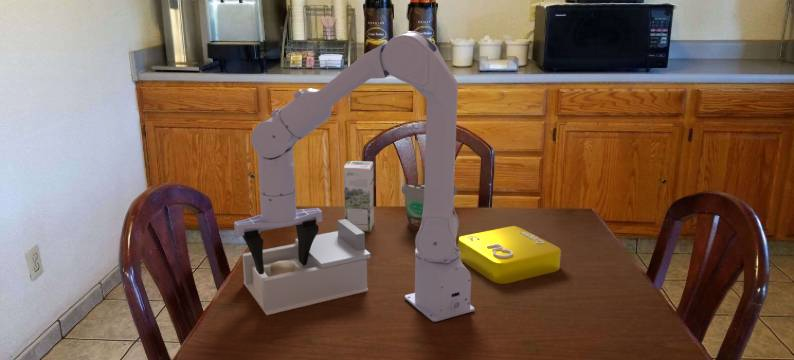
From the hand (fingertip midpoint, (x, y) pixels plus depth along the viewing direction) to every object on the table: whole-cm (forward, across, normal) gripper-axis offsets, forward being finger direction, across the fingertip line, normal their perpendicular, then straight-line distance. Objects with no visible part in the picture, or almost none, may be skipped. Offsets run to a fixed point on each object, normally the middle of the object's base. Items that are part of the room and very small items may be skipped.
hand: (281, 267), depth 108 cm
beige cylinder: (+4, 0, 0) cm, 4 cm away
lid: (-1, -9, 0) cm, 9 cm away
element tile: (+5, -42, +8) cm, 43 cm away
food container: (+5, -37, -14) cm, 40 cm away
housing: (+5, -4, 0) cm, 6 cm away
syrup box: (+5, -25, -22) cm, 34 cm away
